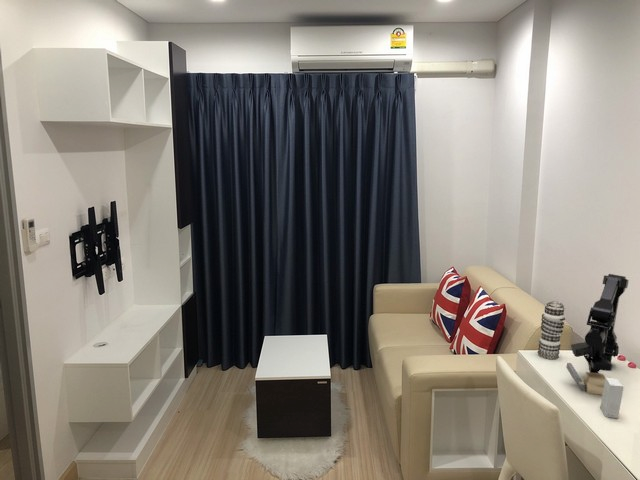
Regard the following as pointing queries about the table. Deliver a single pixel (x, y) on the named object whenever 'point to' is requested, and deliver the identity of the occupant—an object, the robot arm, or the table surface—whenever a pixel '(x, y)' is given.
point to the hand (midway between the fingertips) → (591, 377)
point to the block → (594, 383)
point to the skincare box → (611, 397)
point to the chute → (576, 377)
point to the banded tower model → (551, 330)
